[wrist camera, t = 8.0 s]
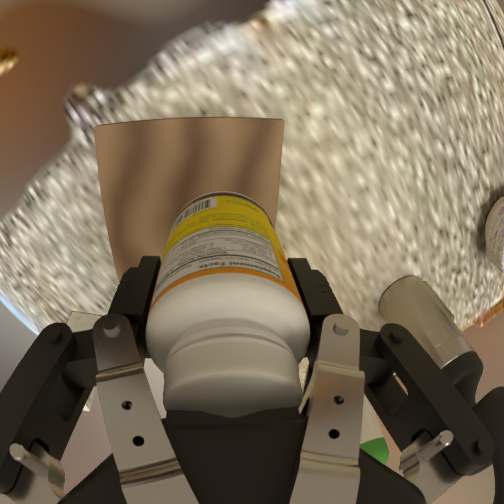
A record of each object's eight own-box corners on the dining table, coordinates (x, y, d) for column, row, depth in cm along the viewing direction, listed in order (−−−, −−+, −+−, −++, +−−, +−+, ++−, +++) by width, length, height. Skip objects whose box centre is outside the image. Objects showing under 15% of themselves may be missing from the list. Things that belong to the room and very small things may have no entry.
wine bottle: (364, 376, 57) (408, 492, 32) (361, 391, 62) (399, 496, 36) (331, 386, 58) (369, 507, 32) (331, 401, 62) (364, 510, 36)
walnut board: (281, 119, 29) (284, 120, 28) (268, 274, 39) (269, 279, 38) (98, 125, 26) (94, 127, 25) (121, 276, 37) (118, 281, 36)
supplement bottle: (253, 285, 17) (281, 445, 9) (163, 264, 16) (131, 431, 7) (289, 203, 15) (370, 361, 6) (186, 173, 13) (138, 329, 5)
